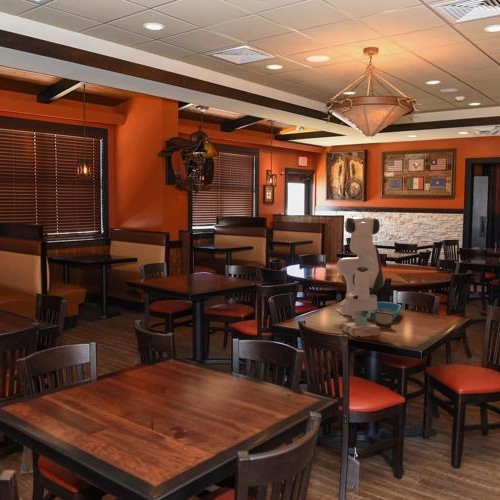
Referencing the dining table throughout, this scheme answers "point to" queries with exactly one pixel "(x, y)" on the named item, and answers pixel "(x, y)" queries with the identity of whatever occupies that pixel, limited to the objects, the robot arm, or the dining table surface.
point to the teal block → (361, 321)
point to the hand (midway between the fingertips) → (360, 318)
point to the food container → (384, 318)
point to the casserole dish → (385, 306)
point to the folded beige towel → (360, 329)
